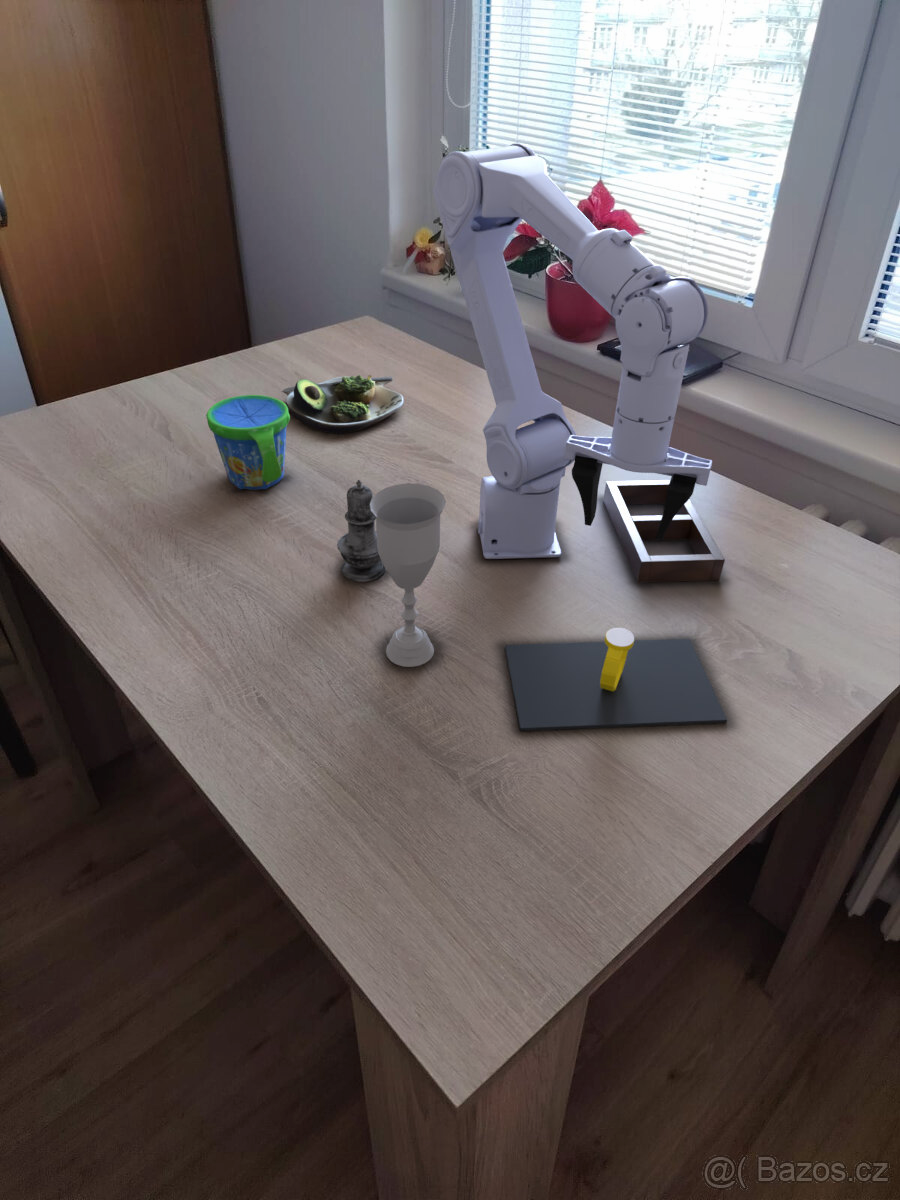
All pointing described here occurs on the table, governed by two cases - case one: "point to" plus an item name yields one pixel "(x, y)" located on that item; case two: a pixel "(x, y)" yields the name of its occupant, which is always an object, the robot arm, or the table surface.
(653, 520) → the compartment tray
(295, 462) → the table surface
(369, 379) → the avocado toast plate
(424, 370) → the table surface
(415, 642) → the chalice
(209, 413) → the snack cup
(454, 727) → the table surface
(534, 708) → the mat
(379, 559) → the salt shaker
